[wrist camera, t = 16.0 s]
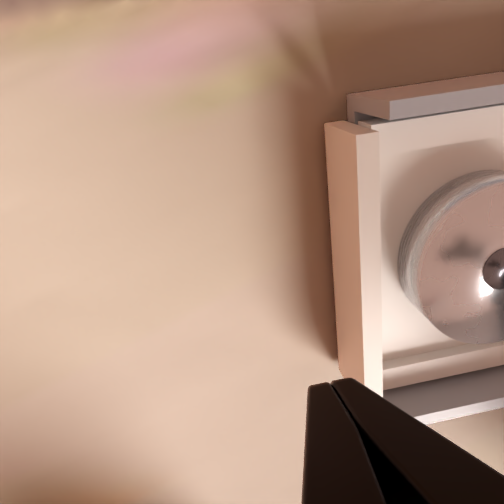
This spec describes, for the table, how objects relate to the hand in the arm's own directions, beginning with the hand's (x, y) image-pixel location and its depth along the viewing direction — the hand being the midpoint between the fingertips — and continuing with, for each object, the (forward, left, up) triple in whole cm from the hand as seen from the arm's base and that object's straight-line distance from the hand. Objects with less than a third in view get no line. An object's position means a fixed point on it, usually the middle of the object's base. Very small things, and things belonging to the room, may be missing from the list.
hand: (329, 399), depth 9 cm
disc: (-10, -2, -10) cm, 14 cm away
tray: (-10, -1, -12) cm, 15 cm away
